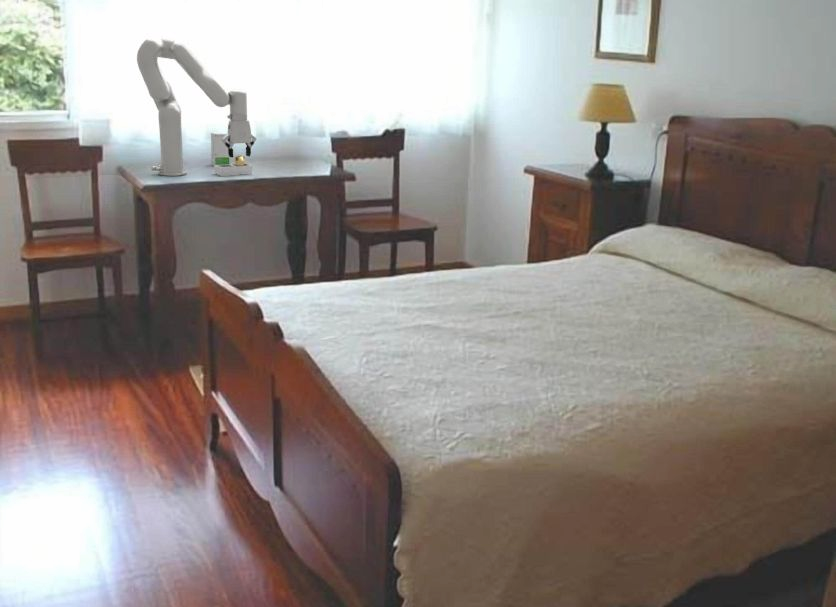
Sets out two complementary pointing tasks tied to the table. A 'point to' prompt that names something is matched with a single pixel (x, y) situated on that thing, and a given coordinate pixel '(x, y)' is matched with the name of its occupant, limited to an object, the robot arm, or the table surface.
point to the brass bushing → (239, 161)
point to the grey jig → (232, 169)
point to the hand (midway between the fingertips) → (239, 156)
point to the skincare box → (219, 149)
